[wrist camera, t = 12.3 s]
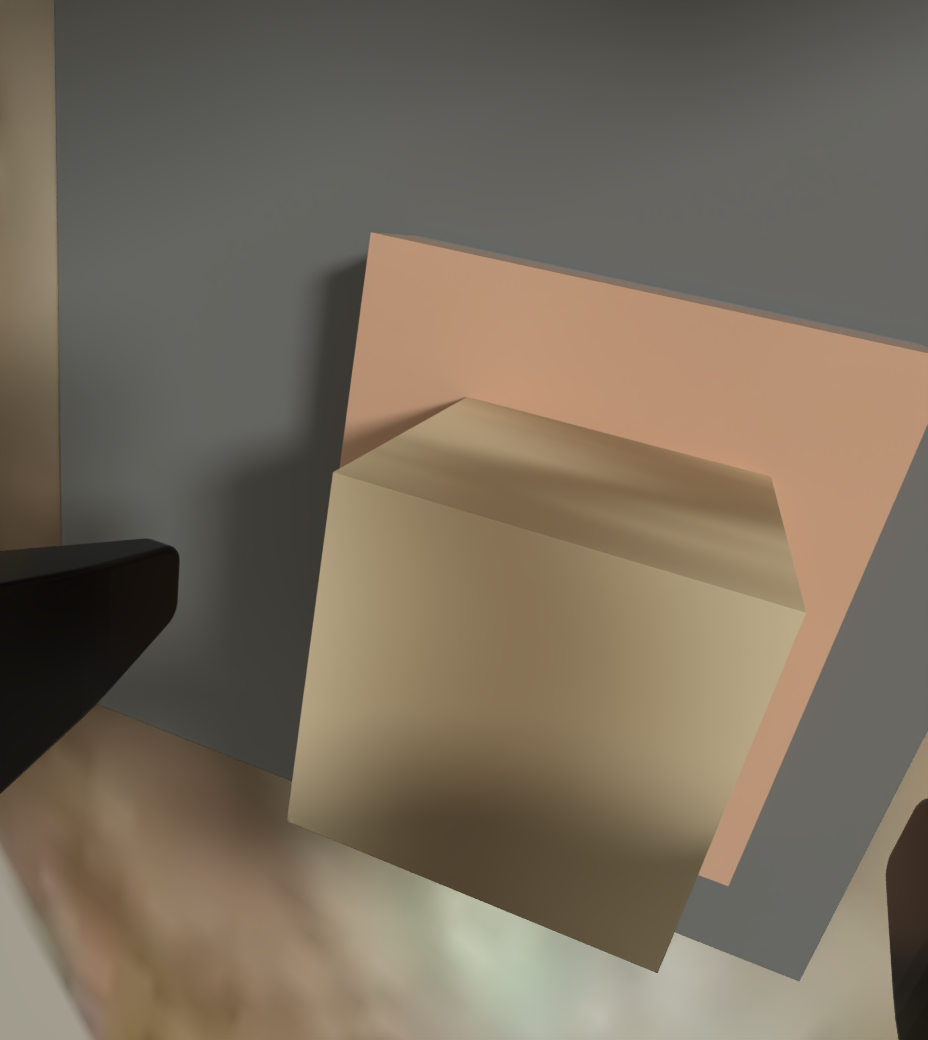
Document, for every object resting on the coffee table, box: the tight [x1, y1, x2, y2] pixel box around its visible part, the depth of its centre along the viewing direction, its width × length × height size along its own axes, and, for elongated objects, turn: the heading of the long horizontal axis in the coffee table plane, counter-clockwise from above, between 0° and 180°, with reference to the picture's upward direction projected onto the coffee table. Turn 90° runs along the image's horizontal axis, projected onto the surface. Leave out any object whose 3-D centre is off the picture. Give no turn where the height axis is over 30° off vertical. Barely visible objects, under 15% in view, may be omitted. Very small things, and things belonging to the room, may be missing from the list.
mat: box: [54, 0, 928, 981], centre depth 14 cm, size 18×18×1 cm
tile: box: [339, 232, 928, 886], centre depth 13 cm, size 8×2×9 cm
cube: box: [287, 397, 806, 973], centre depth 10 cm, size 4×4×4 cm
